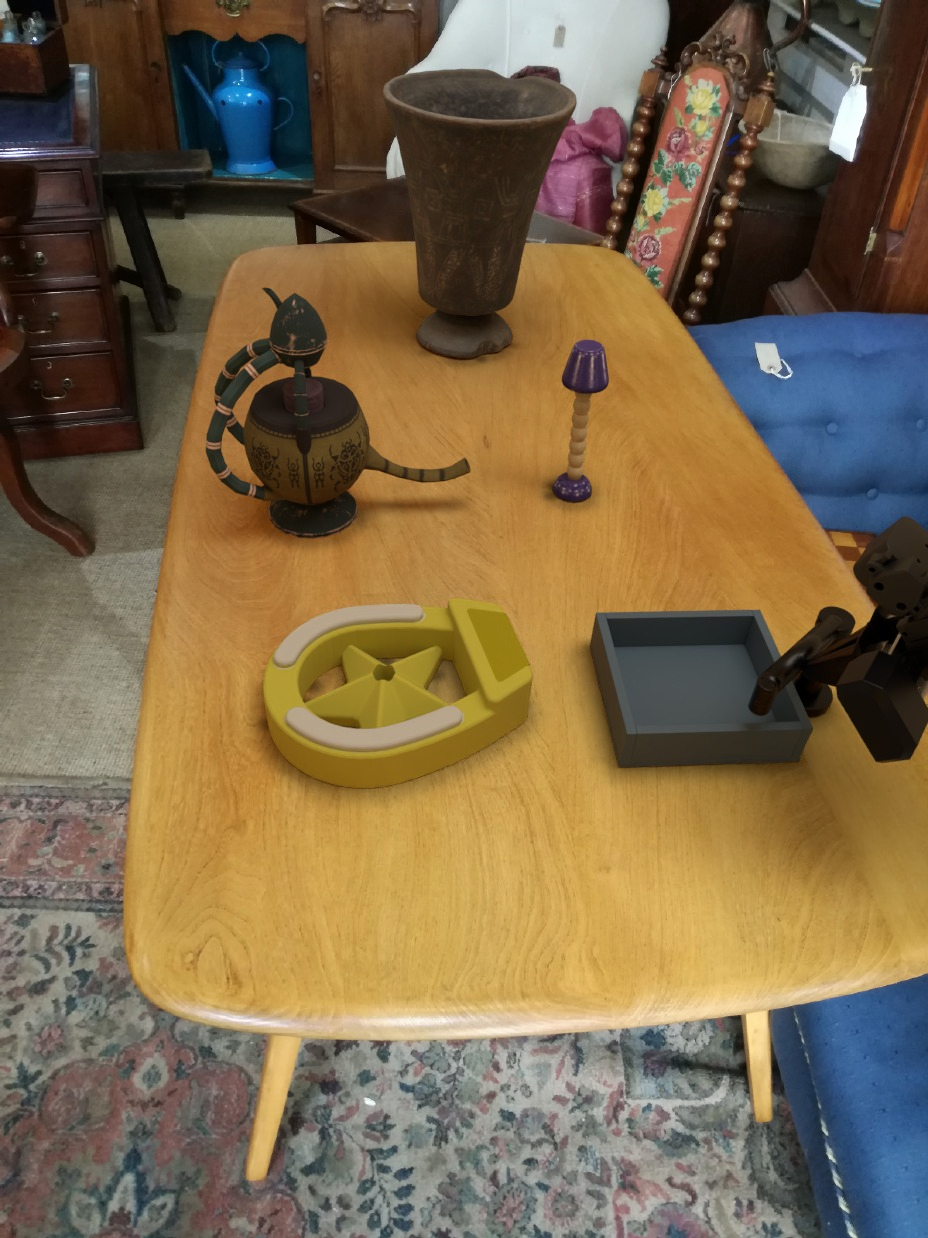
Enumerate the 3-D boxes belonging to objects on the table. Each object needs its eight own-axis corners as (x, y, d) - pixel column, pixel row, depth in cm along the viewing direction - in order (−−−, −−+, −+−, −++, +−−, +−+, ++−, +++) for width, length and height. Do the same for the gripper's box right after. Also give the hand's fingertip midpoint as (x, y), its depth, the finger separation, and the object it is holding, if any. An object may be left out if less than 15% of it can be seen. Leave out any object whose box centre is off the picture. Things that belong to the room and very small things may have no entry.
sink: (748, 642, 84) (760, 609, 81) (798, 762, 74) (813, 728, 72) (589, 646, 83) (595, 612, 80) (618, 767, 73) (627, 734, 70)
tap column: (829, 685, 81) (859, 619, 75) (829, 722, 78) (860, 656, 72) (777, 674, 81) (803, 608, 76) (775, 710, 78) (802, 644, 73)
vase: (352, 336, 125) (342, 84, 104) (461, 290, 137) (471, 56, 116) (475, 396, 114) (490, 130, 94) (580, 341, 126) (614, 94, 106)
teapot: (229, 480, 99) (195, 264, 84) (462, 473, 102) (472, 263, 86) (220, 551, 91) (180, 325, 75) (475, 542, 93) (488, 322, 77)
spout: (818, 628, 77) (831, 598, 74) (849, 646, 75) (863, 616, 73) (736, 703, 70) (747, 672, 68) (769, 724, 69) (781, 693, 67)
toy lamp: (541, 493, 100) (558, 348, 89) (558, 472, 103) (577, 329, 92) (582, 506, 98) (605, 361, 87) (598, 485, 102) (622, 342, 90)
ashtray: (545, 753, 74) (552, 711, 70) (282, 807, 69) (276, 765, 66) (484, 616, 85) (487, 574, 82) (255, 654, 81) (248, 612, 77)
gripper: (1001, 448, 62) (797, 523, 74) (926, 588, 51) (698, 650, 63) (1073, 585, 64) (863, 637, 76) (1017, 751, 53) (779, 781, 64)
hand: (805, 670), depth 70 cm, fingers closed, pressing on spout
